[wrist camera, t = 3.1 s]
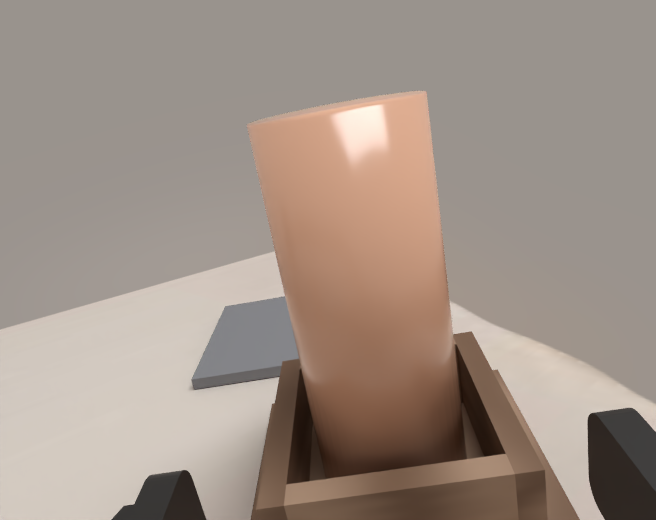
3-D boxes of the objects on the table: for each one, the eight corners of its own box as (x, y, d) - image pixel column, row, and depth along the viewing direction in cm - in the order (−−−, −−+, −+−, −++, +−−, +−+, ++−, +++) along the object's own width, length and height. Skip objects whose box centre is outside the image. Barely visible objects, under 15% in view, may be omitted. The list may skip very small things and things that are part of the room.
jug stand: (241, 655, 19) (204, 551, 17) (277, 425, 31) (258, 351, 29) (613, 612, 18) (612, 498, 16) (499, 392, 30) (492, 314, 28)
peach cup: (485, 514, 21) (442, 94, 15) (325, 534, 21) (231, 133, 16) (441, 384, 29) (404, 86, 24) (328, 401, 30) (267, 112, 24)
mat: (194, 389, 36) (191, 379, 36) (227, 314, 48) (225, 306, 48) (364, 362, 36) (362, 352, 35) (357, 292, 47) (356, 284, 47)
